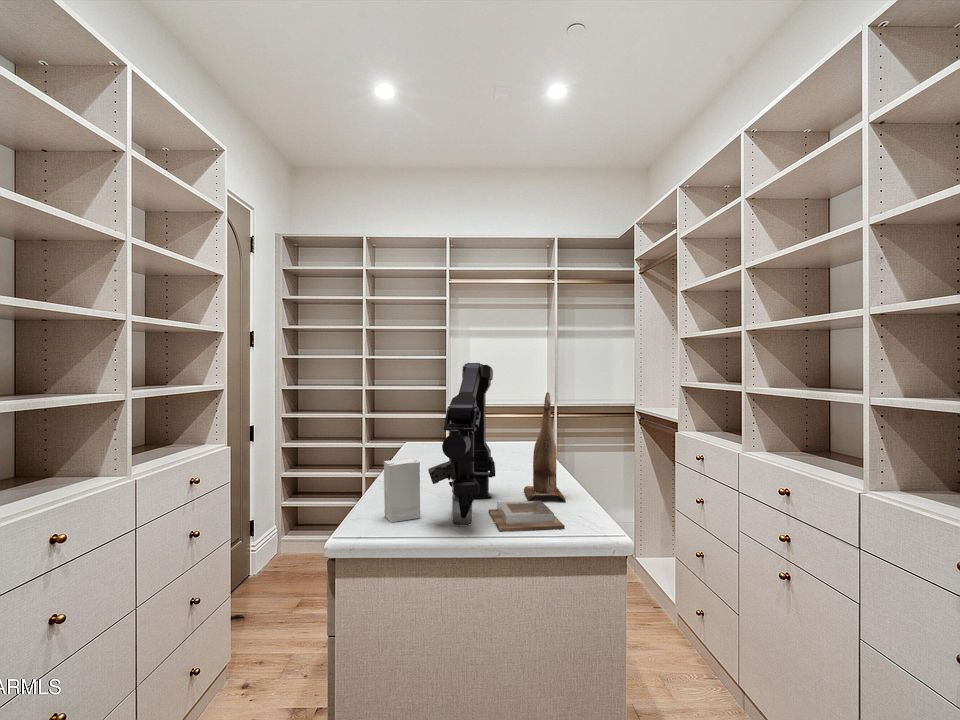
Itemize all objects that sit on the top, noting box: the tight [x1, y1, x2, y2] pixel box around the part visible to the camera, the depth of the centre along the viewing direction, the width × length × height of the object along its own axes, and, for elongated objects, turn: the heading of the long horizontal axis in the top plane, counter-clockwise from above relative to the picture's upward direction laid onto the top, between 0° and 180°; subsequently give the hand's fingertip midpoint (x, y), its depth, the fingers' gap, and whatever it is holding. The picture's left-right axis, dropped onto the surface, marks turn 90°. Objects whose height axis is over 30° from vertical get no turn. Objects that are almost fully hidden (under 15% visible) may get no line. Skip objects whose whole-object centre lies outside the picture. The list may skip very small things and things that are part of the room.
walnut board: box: [488, 508, 566, 533], centre depth 127 cm, size 16×16×1 cm
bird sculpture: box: [523, 391, 567, 503], centre depth 149 cm, size 11×12×32 cm
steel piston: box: [451, 493, 473, 527], centre depth 124 cm, size 5×5×7 cm
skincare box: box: [383, 457, 421, 524], centre depth 128 cm, size 8×6×15 cm
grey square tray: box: [496, 500, 555, 525], centre depth 127 cm, size 12×12×2 cm
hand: (462, 514), depth 124 cm, fingers closed on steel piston, 5 cm apart
